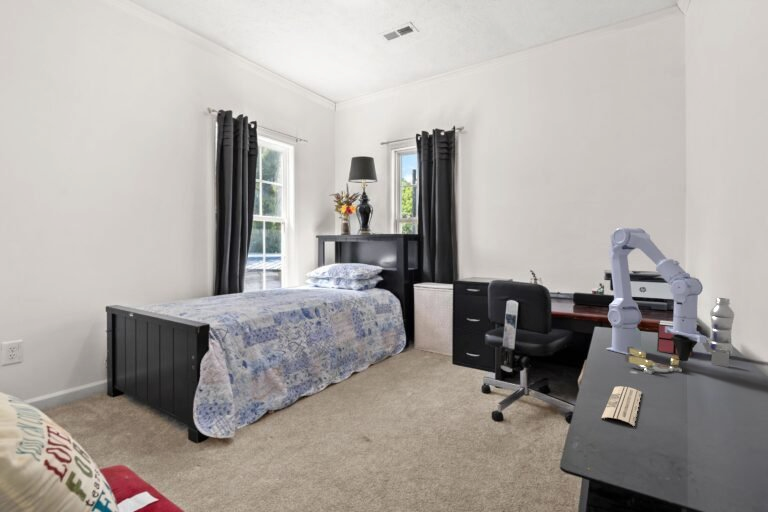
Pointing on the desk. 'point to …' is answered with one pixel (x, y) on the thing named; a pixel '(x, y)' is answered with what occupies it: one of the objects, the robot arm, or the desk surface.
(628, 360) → the front lever screw
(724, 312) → the plastic bottle
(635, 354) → the lever
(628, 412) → the newspaper
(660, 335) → the puzzle cube
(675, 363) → the left lever screw
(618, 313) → the robot arm
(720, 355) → the lighter
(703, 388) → the desk surface
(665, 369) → the base
